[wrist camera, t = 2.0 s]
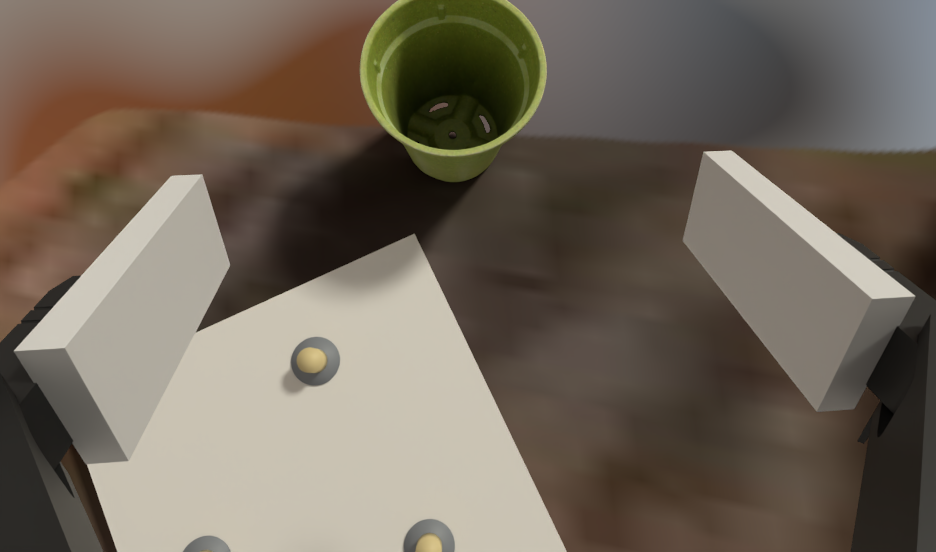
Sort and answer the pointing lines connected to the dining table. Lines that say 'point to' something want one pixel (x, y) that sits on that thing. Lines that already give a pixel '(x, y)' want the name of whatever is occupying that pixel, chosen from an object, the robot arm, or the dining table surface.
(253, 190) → the dining table surface
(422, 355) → the pin board
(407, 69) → the plant pot
